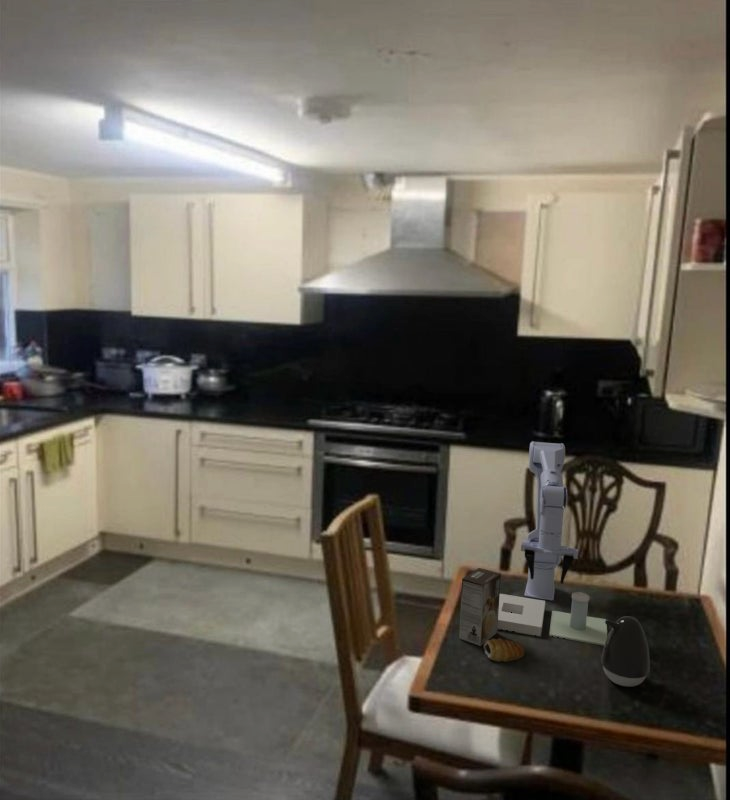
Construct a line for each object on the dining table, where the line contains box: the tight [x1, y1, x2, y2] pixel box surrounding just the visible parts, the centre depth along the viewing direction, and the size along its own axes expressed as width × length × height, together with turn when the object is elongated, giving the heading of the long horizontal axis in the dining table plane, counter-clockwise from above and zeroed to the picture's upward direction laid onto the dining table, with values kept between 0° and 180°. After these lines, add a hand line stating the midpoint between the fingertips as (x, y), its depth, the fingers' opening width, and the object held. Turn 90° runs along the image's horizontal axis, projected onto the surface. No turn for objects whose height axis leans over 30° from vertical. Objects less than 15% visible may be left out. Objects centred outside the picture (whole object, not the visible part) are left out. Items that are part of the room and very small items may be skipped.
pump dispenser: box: [600, 615, 651, 688], centre depth 159 cm, size 10×10×15 cm
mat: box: [548, 610, 608, 647], centre depth 184 cm, size 14×14×1 cm
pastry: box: [483, 637, 525, 663], centre depth 169 cm, size 9×7×4 cm
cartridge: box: [570, 591, 590, 630], centre depth 183 cm, size 4×4×8 cm
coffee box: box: [458, 567, 502, 647], centre depth 177 cm, size 9×6×16 cm
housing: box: [497, 593, 546, 637], centre depth 188 cm, size 16×16×2 cm
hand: (546, 580), depth 188 cm, fingers open, 7 cm apart
